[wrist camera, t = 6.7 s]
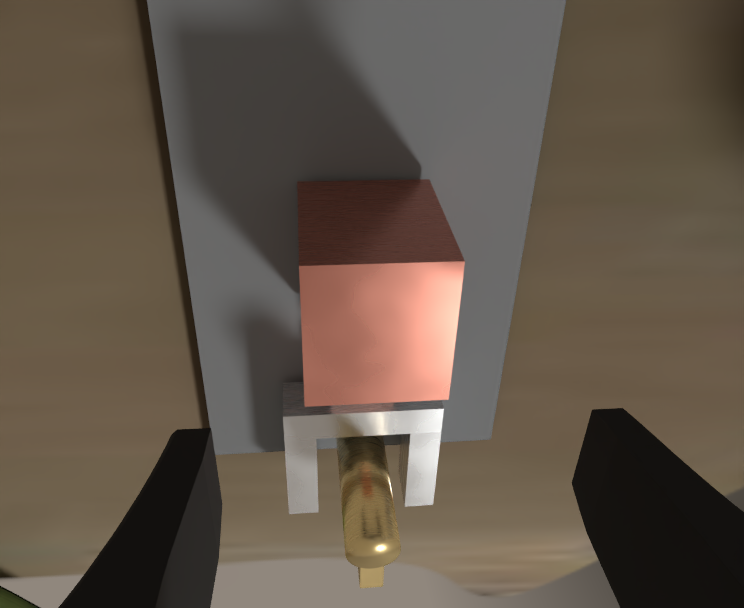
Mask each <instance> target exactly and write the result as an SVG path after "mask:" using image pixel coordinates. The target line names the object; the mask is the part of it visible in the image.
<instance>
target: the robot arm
mask: <svg viewBox="0 0 744 608" xmlns="http://www.w3.org/2000/svg"><path fill="white" fill-rule="evenodd" d="M572 485H573V489H574V492H575V496H576V499H577V503H578V506H579V510H580V513H581V516H582V519H583V522H584V525H585V528H586V531H587V534H588V536H589V539H590V541H591V543H592V546H593V548H594V550H595V552H596V555H597V557H598V559H599V561H600V564H601V566H602V568H603V570H604V573H605V575H606V577H607V579H608V581H609V584H610V586H611V588H612V590H613V592H614V595H615V597H616V599H617V601H618V603H619V605H620V608H744V512H743V511H741V510H740V509H739V508H738V507H736V506H735V505H734V504H733V503H731V502H730V501H729V500H728V499H727V498H725V497H724V496H723V495H722V494H720V493H719V492H718V491H717V490H716V489H715V488H713V487H712V486H711V485H710V484H709V483H707V482H706V481H705V480H704V479H703V478H702V477H700V476H699V475H698V474H697V473H696V472H695V471H693V470H692V469H691V468H690V467H689V466H688V465H687V464H685V463H684V462H683V461H682V460H681V459H680V458H679V457H677V456H676V455H675V454H674V453H673V452H672V451H671V450H670V449H668V448H667V447H666V446H665V445H664V444H663V443H662V442H661V441H659V440H658V439H657V438H656V437H655V436H654V435H653V434H652V433H651V432H649V431H648V430H647V429H646V428H645V427H644V426H643V425H642V424H640V423H639V422H638V421H637V420H636V419H635V418H634V417H632V416H631V415H630V414H629V413H628V412H627V411H625V410H624V409H623V408H617V409H596V410H592V412H591V416H590V419H589V423H588V427H587V430H586V434H585V437H584V441H583V445H582V448H581V452H580V455H579V459H578V463H577V466H576V470H575V473H574V477H573V480H572ZM221 515H222V499H221V492H220V485H219V478H218V472H217V465H216V458H215V451H214V444H213V437H212V431H211V428H202V429H182V430H176V431H175V432H174V433H173V434H172V435H171V437H170V439H169V441H168V443H167V445H166V447H165V449H164V451H163V453H162V455H161V457H160V458H159V460H158V462H157V464H156V466H155V468H154V469H153V471H152V473H151V475H150V476H149V478H148V480H147V481H146V483H145V485H144V487H143V488H142V490H141V492H140V493H139V495H138V496H137V498H136V500H135V501H134V503H133V504H132V506H131V507H130V509H129V511H128V512H127V514H126V515H125V517H124V518H123V520H122V522H121V523H120V525H119V526H118V528H117V529H116V531H115V532H114V534H113V535H112V537H111V538H110V539H109V541H108V542H107V544H106V545H105V546H104V548H103V549H102V551H101V552H100V554H99V555H98V556H97V558H96V559H95V561H94V562H93V563H92V565H91V566H90V568H89V569H88V570H87V572H86V573H85V574H84V576H83V577H82V578H81V580H80V581H79V582H78V584H77V585H76V586H75V588H74V589H73V590H72V591H71V593H70V594H69V595H68V597H67V598H66V599H65V600H64V602H63V603H62V604H61V605H60V606H59V608H210V605H211V600H212V594H213V588H214V582H215V576H216V571H217V565H218V559H219V547H220V532H221Z"/></svg>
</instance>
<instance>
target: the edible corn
mask: <svg viewBox="0 0 744 608" xmlns="http://www.w3.org/2000/svg"><path fill="white" fill-rule="evenodd" d="M0 608H41V607H38V606H37V605H35V604H33V603H31V602H30V601H28V600H26V599H24V598H22V597H20V596H19V595H17V594H15V593H13V592H12V591H9V590H7V589H6V588H4V587H1V586H0Z"/></svg>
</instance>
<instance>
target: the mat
mask: <svg viewBox="0 0 744 608" xmlns="http://www.w3.org/2000/svg"><path fill="white" fill-rule="evenodd" d="M565 3H566V0H147V4H148V11H149V18H150V24H151V31H152V38H153V45H154V51H155V58H156V65H157V72H158V78H159V85H160V92H161V99H162V106H163V112H164V119H165V126H166V133H167V139H168V146H169V153H170V160H171V166H172V173H173V180H174V187H175V193H176V200H177V207H178V214H179V220H180V227H181V234H182V241H183V248H184V254H185V261H186V268H187V275H188V281H189V288H190V295H191V302H192V308H193V315H194V322H195V329H196V335H197V342H198V349H199V356H200V363H201V369H202V376H203V383H204V390H205V396H206V403H207V410H208V417H209V423H210V428H211V431H212V437H213V444H214V451H215V455H221V454H239V453H256V452H274V451H285V442H284V426H283V383H291V382H304V378H303V353H302V328H301V303H300V278H299V241H298V194H297V181H356V180H417V179H430V182H431V184H432V186H433V189H434V191H435V193H436V196H437V198H438V200H439V202H440V205H441V207H442V209H443V212H444V214H445V216H446V219H447V221H448V223H449V226H450V228H451V230H452V232H453V235H454V237H455V239H456V242H457V244H458V246H459V249H460V251H461V253H462V256H463V258H464V260H465V266H464V274H463V283H462V291H461V299H460V308H459V316H458V325H457V333H456V342H455V350H454V359H453V367H452V375H451V384H450V392H449V400H442V404H443V407H444V412H443V421H442V430H441V439H440V442H454V441H472V440H489V439H491V434H492V428H493V422H494V416H495V411H496V405H497V399H498V393H499V387H500V381H501V376H502V370H503V364H504V358H505V352H506V347H507V341H508V335H509V329H510V323H511V317H512V312H513V306H514V300H515V294H516V288H517V283H518V277H519V271H520V265H521V259H522V253H523V248H524V242H525V236H526V230H527V224H528V218H529V213H530V207H531V201H532V195H533V189H534V184H535V178H536V172H537V166H538V160H539V154H540V149H541V143H542V137H543V131H544V125H545V119H546V114H547V108H548V102H549V96H550V90H551V85H552V79H553V73H554V67H555V61H556V55H557V50H558V44H559V38H560V32H561V26H562V21H563V15H564V9H565ZM383 440H384V445H400V443H401V434H394V435H383ZM316 443H317V449H328V448H337V441H336V438H321V439H316Z"/></svg>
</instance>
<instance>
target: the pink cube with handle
mask: <svg viewBox="0 0 744 608" xmlns="http://www.w3.org/2000/svg"><path fill="white" fill-rule="evenodd" d="M297 194H298V241H299V278H300V303H301V328H302V353H303V378H304V382H291V383H283V426H284V442H285V457H286V473H287V488H288V504H289V514H297V513H313V512H318V479H317V443H316V439H321V438H339V437H357V436H376V435H394V434H401V443H400V457H399V477H400V483H401V489H402V494H403V500H404V506H420V505H433V500H434V491H435V482H436V474H437V465H438V456H439V447H440V439H441V430H442V421H443V412H444V407H443V404H442V400H449V392H450V384H451V375H452V367H453V359H454V350H455V342H456V333H457V325H458V316H459V308H460V299H461V291H462V283H463V274H464V266H465V260H464V258H463V256H462V253H461V251H460V249H459V246H458V244H457V242H456V239H455V237H454V235H453V232H452V230H451V228H450V226H449V223H448V221H447V219H446V216H445V214H444V212H443V209H442V207H441V205H440V202H439V200H438V198H437V196H436V193H435V191H434V189H433V186H432V184H431V182H430V179H417V180H356V181H297Z"/></svg>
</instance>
